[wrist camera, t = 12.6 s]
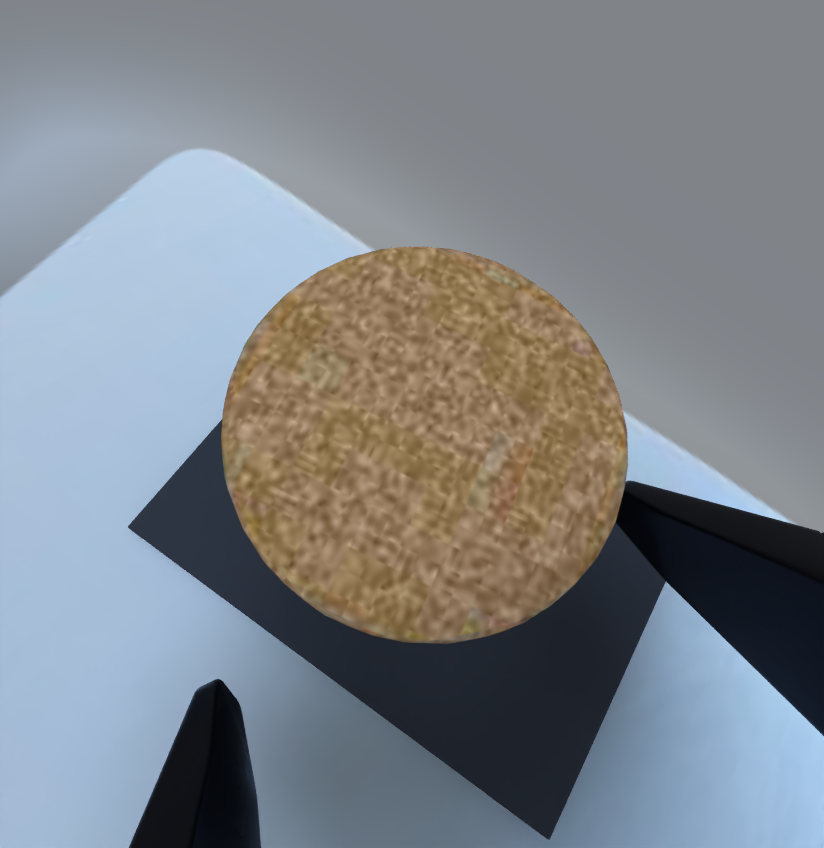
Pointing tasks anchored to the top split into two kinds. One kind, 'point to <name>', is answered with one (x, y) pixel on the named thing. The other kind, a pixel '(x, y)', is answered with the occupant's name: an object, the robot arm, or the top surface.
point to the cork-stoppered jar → (424, 445)
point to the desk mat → (438, 649)
